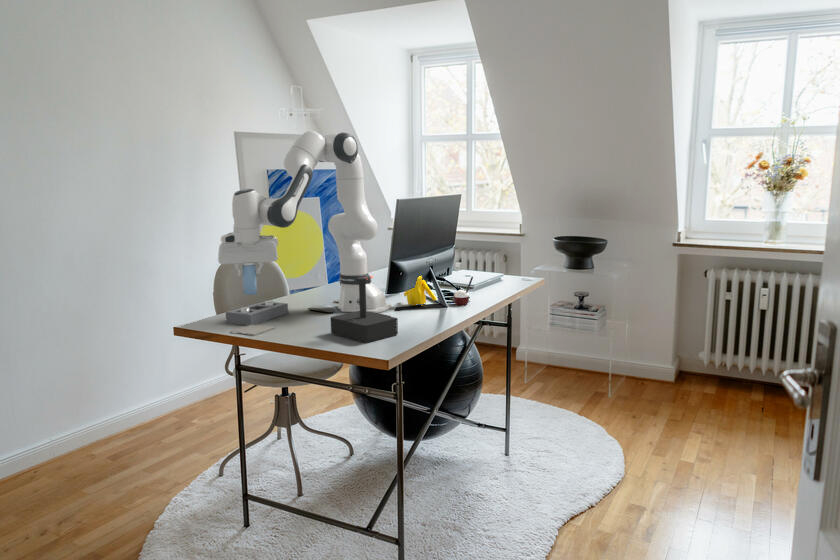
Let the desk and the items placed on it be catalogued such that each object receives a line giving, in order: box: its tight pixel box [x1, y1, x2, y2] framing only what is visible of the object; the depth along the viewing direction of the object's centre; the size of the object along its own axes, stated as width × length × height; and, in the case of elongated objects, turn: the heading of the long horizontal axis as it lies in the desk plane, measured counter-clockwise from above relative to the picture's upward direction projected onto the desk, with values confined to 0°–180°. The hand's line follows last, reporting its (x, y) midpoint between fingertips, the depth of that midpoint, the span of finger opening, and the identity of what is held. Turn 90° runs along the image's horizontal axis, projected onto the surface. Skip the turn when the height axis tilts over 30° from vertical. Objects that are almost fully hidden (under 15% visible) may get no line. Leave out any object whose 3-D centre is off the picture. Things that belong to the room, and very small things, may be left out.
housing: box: [225, 300, 289, 326], centre depth 246 cm, size 22×12×4 cm, turn 154°
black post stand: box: [330, 277, 399, 344], centre depth 218 cm, size 19×17×20 cm
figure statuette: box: [403, 275, 437, 306], centre depth 264 cm, size 18×8×22 cm, turn 50°
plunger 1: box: [240, 306, 250, 313], centre depth 240 cm, size 3×3×4 cm
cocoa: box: [450, 276, 474, 306], centre depth 264 cm, size 10×6×12 cm, turn 48°
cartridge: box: [241, 262, 258, 296], centre depth 223 cm, size 5×5×11 cm
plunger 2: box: [265, 300, 274, 306], centre depth 252 cm, size 3×3×4 cm
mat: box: [229, 324, 276, 336], centre depth 226 cm, size 11×11×1 cm
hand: (249, 275), depth 223 cm, fingers closed on cartridge, 5 cm apart
